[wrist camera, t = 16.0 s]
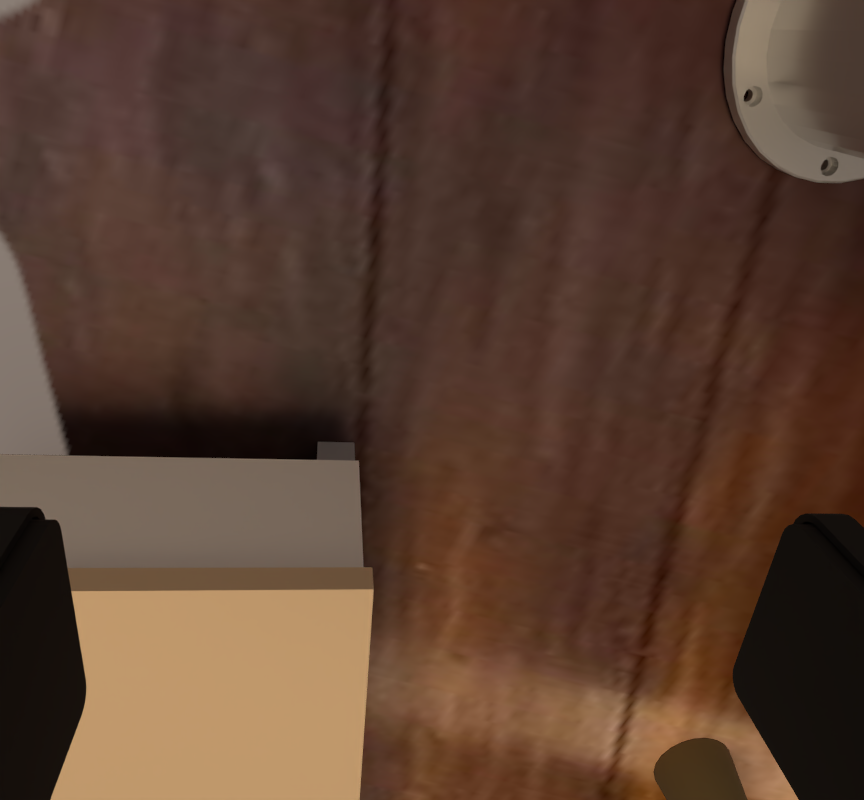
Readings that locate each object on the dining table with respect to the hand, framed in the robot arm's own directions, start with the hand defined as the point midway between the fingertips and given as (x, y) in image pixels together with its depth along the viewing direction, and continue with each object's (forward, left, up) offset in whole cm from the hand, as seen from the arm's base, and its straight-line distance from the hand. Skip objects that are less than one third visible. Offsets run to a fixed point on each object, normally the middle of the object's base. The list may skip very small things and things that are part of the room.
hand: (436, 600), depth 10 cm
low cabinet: (+20, -9, -28) cm, 36 cm away
